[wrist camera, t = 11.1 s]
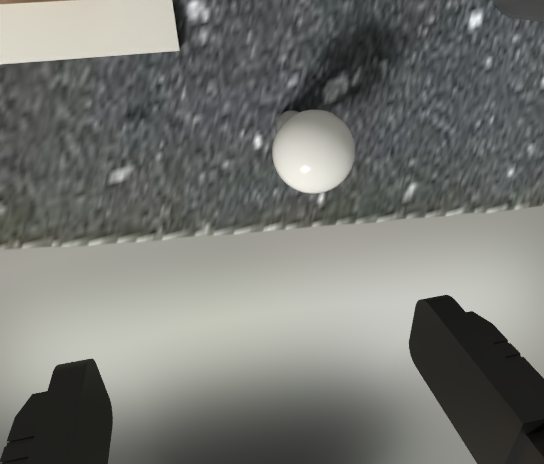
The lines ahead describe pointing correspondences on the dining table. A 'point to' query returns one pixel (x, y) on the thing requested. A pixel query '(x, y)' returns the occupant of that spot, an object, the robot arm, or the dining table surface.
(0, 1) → the walnut block
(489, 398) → the robot arm
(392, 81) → the dining table surface
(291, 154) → the lightbulb
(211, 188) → the dining table surface
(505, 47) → the dining table surface
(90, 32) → the base board
